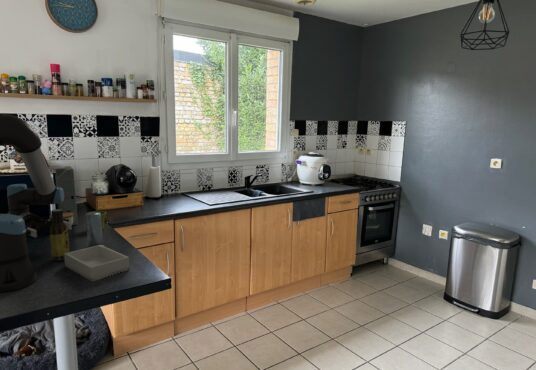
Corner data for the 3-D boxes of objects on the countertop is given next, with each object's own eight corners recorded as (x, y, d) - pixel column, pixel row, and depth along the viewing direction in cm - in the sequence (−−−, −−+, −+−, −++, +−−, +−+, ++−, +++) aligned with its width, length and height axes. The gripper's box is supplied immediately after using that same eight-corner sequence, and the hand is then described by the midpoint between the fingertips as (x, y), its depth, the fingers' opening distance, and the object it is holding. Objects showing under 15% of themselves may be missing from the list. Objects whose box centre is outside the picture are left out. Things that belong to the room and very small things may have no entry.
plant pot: (111, 228, 194) (110, 212, 193) (94, 233, 187) (93, 216, 185) (100, 226, 199) (99, 210, 198) (83, 230, 191) (82, 213, 190)
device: (59, 220, 212) (54, 167, 207) (74, 218, 216) (70, 166, 211) (61, 226, 198) (56, 170, 193) (77, 224, 202) (73, 169, 197)
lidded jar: (70, 225, 200) (68, 208, 199) (77, 229, 193) (75, 211, 191) (47, 229, 193) (46, 211, 192) (54, 233, 185) (52, 215, 184)
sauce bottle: (70, 259, 150) (66, 210, 147) (52, 262, 146) (48, 212, 143) (69, 255, 155) (65, 207, 152) (51, 258, 152) (47, 209, 149)
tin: (97, 249, 162) (94, 215, 160) (84, 248, 163) (82, 215, 161) (105, 245, 168) (103, 212, 165) (93, 244, 169) (91, 211, 167)
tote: (129, 270, 139) (128, 257, 139) (91, 281, 129) (90, 267, 128) (101, 256, 154) (100, 244, 153) (65, 266, 143) (64, 253, 142)
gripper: (59, 224, 175) (84, 231, 163) (-3, 237, 155) (20, 246, 143) (58, 208, 174) (83, 215, 162) (-5, 219, 154) (18, 227, 142)
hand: (53, 230), depth 153 cm, fingers open, 13 cm apart
